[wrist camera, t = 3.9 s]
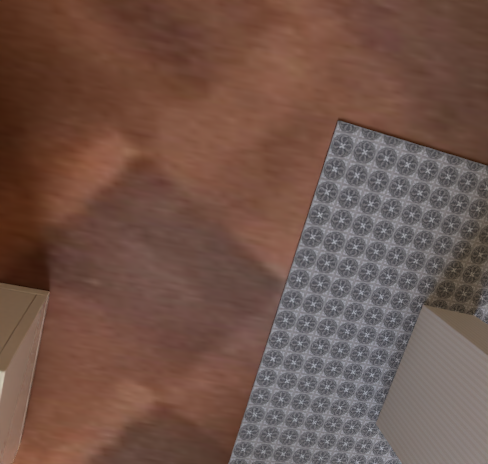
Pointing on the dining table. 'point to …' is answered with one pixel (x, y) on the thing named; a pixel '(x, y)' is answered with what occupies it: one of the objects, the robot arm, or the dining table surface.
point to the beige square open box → (18, 359)
